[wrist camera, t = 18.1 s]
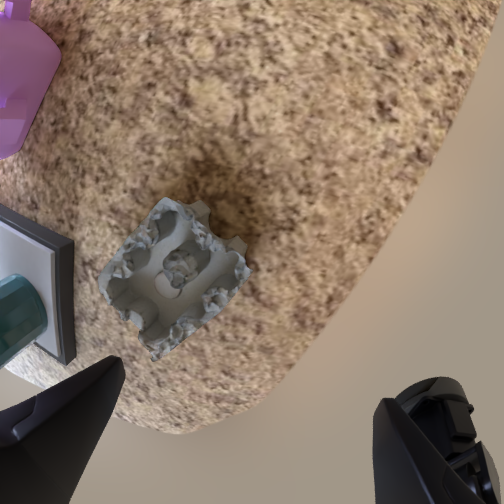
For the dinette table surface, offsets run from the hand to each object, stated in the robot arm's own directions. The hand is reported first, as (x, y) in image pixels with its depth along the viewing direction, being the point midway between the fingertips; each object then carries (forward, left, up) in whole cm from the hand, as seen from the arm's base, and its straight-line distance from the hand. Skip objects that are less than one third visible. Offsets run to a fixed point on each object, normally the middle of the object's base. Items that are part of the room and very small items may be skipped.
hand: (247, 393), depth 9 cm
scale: (-12, +27, -12) cm, 32 cm away
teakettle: (+8, +31, -12) cm, 35 cm away
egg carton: (-3, +7, -12) cm, 15 cm away
